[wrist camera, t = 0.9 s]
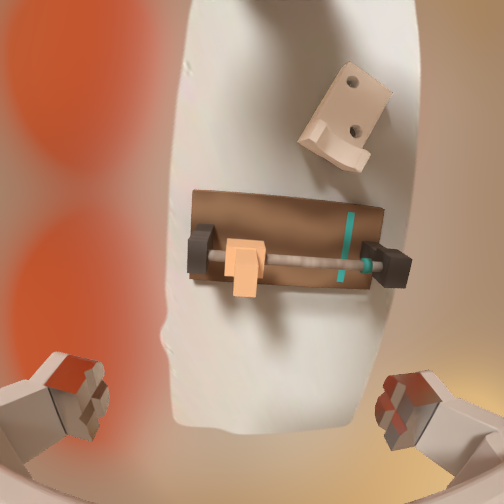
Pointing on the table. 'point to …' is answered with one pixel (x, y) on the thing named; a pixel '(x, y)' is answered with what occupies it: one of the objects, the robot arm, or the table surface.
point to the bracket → (346, 118)
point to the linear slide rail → (294, 240)
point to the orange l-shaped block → (244, 265)
